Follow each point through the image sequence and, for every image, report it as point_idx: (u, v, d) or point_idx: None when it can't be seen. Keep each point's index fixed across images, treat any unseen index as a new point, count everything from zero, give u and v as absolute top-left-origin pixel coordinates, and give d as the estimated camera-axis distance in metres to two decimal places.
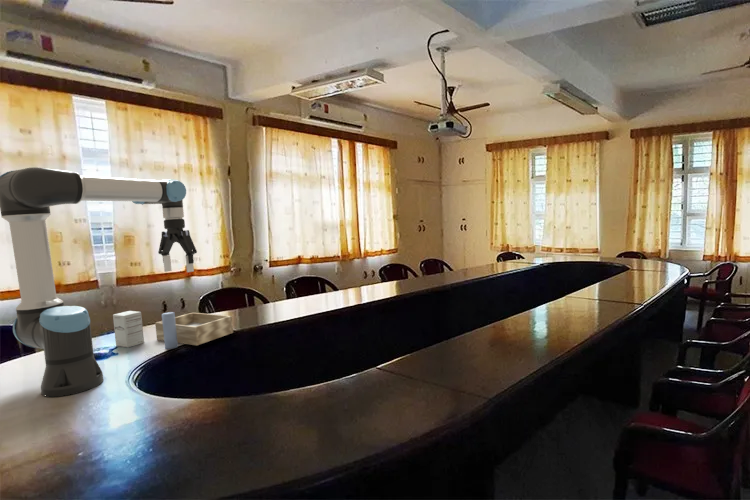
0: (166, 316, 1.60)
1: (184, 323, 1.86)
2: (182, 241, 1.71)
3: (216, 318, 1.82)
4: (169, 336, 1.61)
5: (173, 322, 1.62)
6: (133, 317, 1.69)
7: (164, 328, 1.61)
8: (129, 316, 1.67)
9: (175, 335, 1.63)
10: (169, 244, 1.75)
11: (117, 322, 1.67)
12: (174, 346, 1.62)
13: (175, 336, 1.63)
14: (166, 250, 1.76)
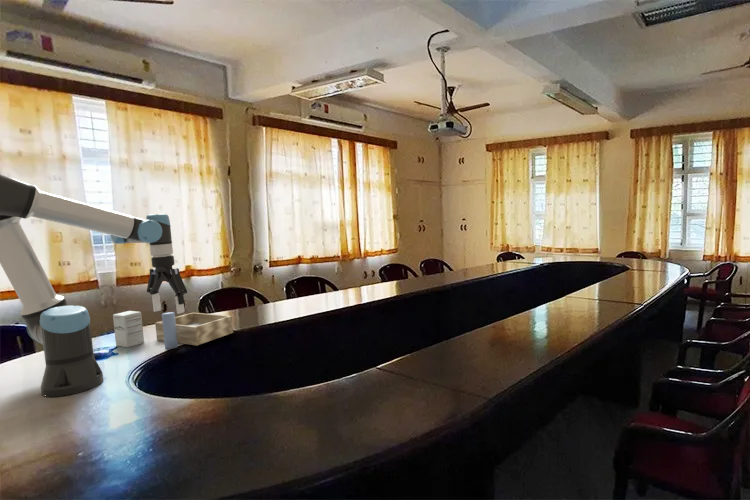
0: (166, 316, 1.60)
1: (184, 323, 1.86)
2: (171, 280, 1.59)
3: (216, 318, 1.82)
4: (169, 336, 1.61)
5: (173, 322, 1.62)
6: (133, 317, 1.69)
7: (164, 328, 1.61)
8: (129, 316, 1.67)
9: (175, 335, 1.63)
10: (158, 282, 1.63)
11: (118, 322, 1.67)
12: (174, 346, 1.62)
13: (175, 336, 1.63)
14: (155, 289, 1.64)
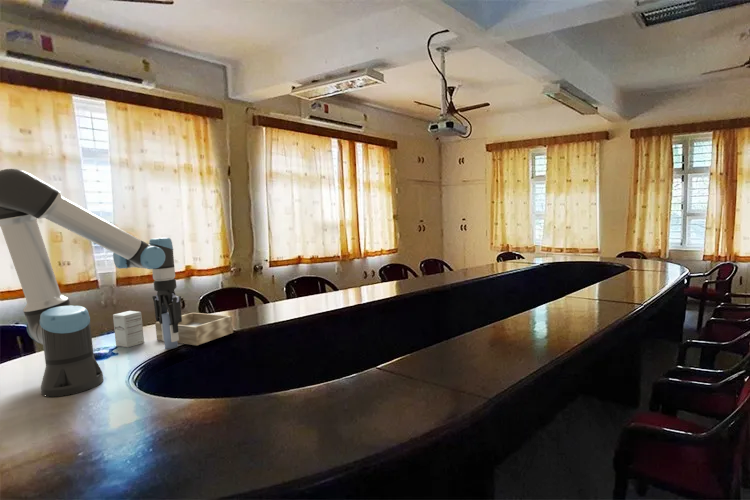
0: (166, 316, 1.60)
1: (184, 323, 1.86)
2: (171, 306, 1.61)
3: (216, 318, 1.82)
4: (169, 336, 1.61)
5: None
6: (133, 317, 1.69)
7: (164, 328, 1.61)
8: (129, 316, 1.67)
9: None
10: (163, 307, 1.63)
11: (118, 322, 1.67)
12: (174, 346, 1.62)
13: None
14: None
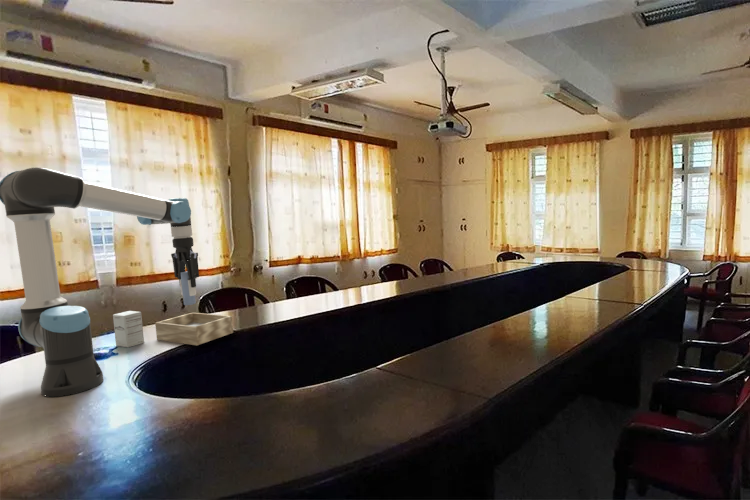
0: (185, 274, 1.71)
1: (184, 323, 1.86)
2: (188, 263, 1.71)
3: (216, 318, 1.82)
4: (188, 293, 1.72)
5: None
6: (133, 317, 1.69)
7: (183, 285, 1.72)
8: (129, 316, 1.67)
9: None
10: (181, 264, 1.73)
11: (118, 322, 1.67)
12: (192, 302, 1.73)
13: None
14: None
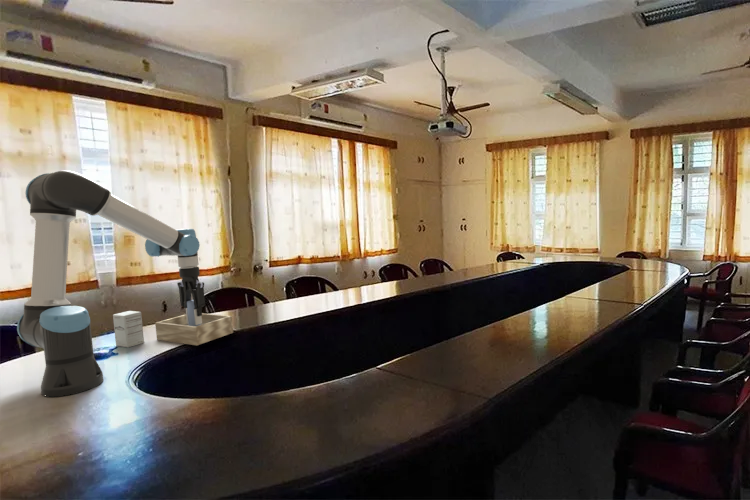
0: (191, 303, 1.75)
1: (184, 323, 1.86)
2: (195, 292, 1.75)
3: (216, 318, 1.82)
4: (194, 322, 1.75)
5: None
6: (133, 317, 1.69)
7: (189, 314, 1.75)
8: (129, 316, 1.67)
9: None
10: (188, 293, 1.77)
11: (118, 322, 1.67)
12: None
13: None
14: (187, 300, 1.77)
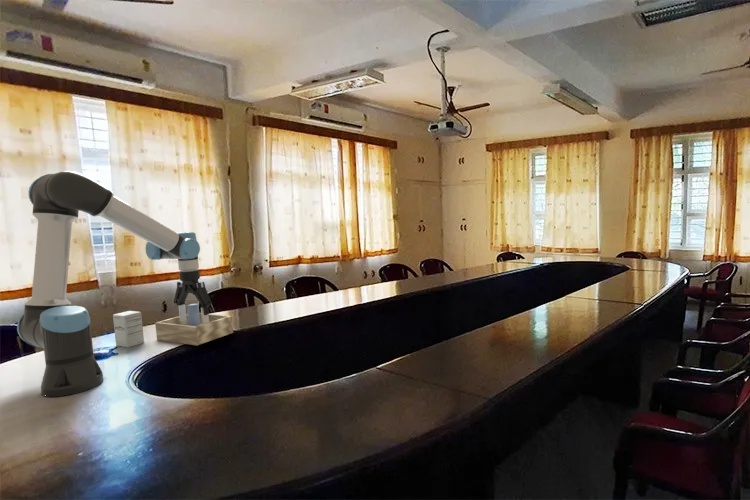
0: (191, 307, 1.75)
1: (184, 323, 1.86)
2: (197, 293, 1.74)
3: (216, 318, 1.82)
4: None
5: (197, 313, 1.76)
6: (133, 317, 1.69)
7: (189, 318, 1.75)
8: (129, 316, 1.67)
9: None
10: (184, 294, 1.78)
11: (117, 322, 1.67)
12: None
13: None
14: (181, 300, 1.79)
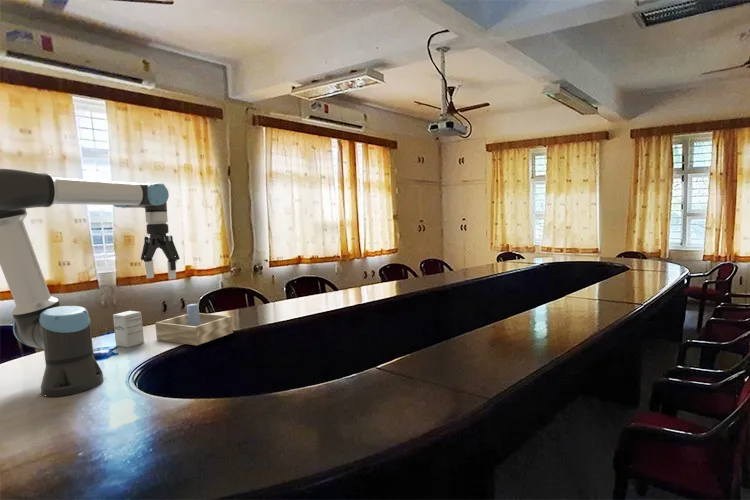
0: (191, 307, 1.75)
1: (184, 323, 1.86)
2: (165, 247, 1.64)
3: (216, 318, 1.82)
4: None
5: (197, 313, 1.76)
6: (133, 317, 1.69)
7: (189, 318, 1.75)
8: (129, 316, 1.67)
9: None
10: (152, 250, 1.68)
11: (118, 322, 1.67)
12: None
13: None
14: (149, 256, 1.69)
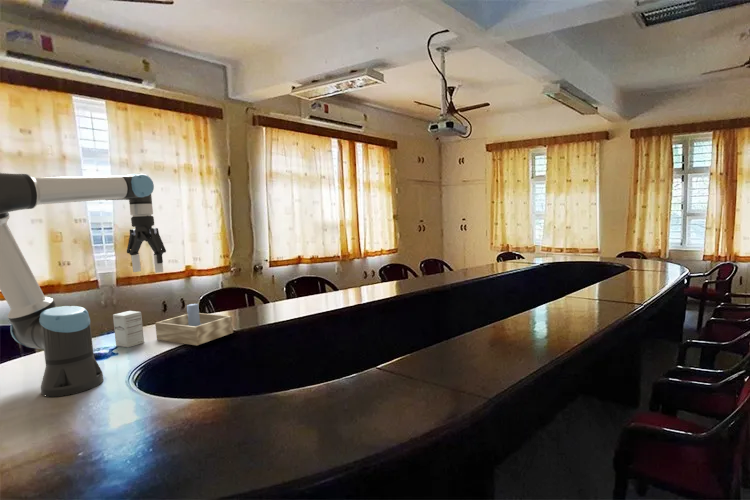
0: (191, 307, 1.75)
1: (184, 323, 1.86)
2: (150, 239, 1.61)
3: (216, 318, 1.82)
4: None
5: (197, 313, 1.76)
6: (133, 317, 1.69)
7: (189, 318, 1.75)
8: (129, 316, 1.67)
9: None
10: (137, 243, 1.65)
11: (118, 322, 1.67)
12: None
13: None
14: (135, 249, 1.66)
